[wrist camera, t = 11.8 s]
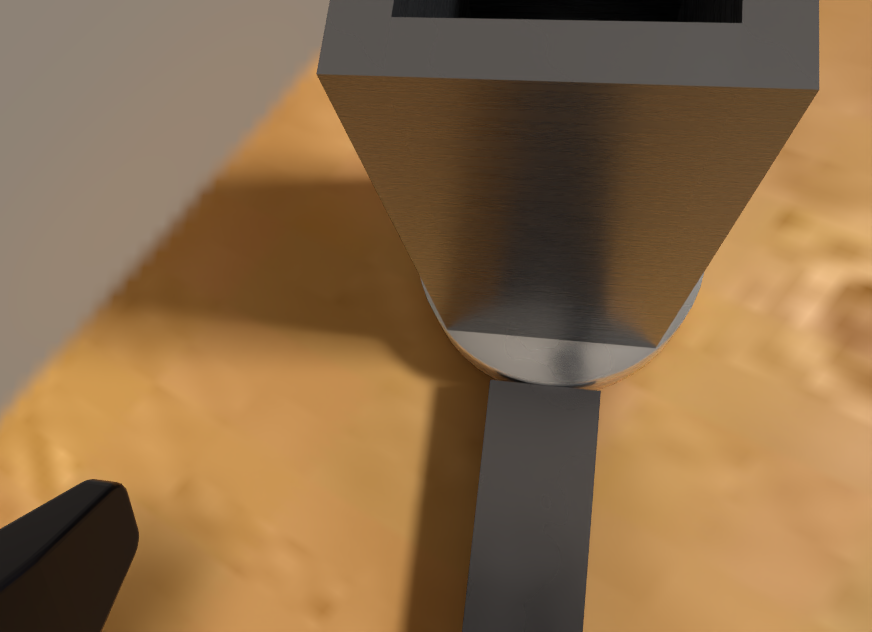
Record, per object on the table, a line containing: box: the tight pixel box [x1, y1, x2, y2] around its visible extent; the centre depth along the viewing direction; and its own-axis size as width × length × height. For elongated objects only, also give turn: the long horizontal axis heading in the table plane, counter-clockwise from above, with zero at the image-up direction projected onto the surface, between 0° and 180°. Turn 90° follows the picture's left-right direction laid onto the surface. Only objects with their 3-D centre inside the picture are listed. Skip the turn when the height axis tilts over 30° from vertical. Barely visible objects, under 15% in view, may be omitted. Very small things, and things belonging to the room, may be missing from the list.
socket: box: [317, 0, 819, 348], centre depth 15 cm, size 6×6×12 cm
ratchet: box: [420, 273, 704, 632], centre depth 20 cm, size 19×8×4 cm, turn 173°
